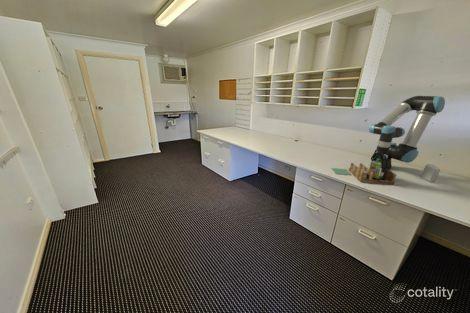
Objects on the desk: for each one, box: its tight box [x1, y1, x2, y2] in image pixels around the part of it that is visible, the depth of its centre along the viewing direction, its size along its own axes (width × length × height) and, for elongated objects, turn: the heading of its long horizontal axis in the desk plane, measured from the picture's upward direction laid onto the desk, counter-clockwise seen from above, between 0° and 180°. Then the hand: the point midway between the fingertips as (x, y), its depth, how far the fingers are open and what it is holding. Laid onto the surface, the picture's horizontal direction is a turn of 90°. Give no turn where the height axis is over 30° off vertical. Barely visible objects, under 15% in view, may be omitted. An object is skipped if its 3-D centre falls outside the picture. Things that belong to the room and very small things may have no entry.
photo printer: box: [421, 163, 441, 183], centre depth 143 cm, size 10×4×12 cm, turn 167°
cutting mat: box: [331, 167, 352, 176], centre depth 158 cm, size 12×12×1 cm
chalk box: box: [368, 158, 385, 180], centre depth 145 cm, size 9×9×15 cm
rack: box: [348, 162, 397, 186], centre depth 147 cm, size 22×23×8 cm
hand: (376, 172), depth 146 cm, fingers closed on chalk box, 12 cm apart
